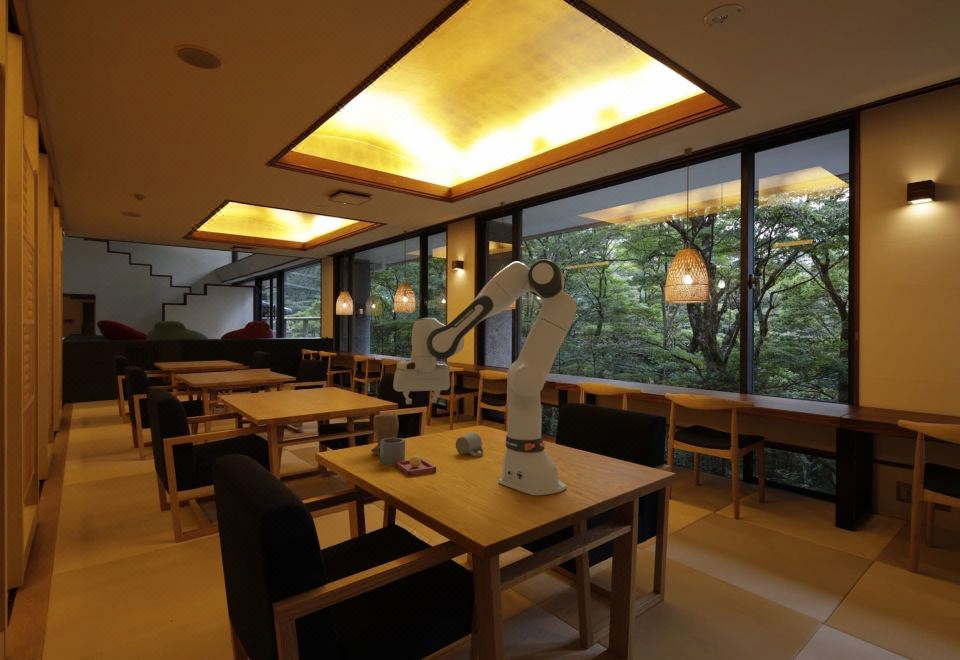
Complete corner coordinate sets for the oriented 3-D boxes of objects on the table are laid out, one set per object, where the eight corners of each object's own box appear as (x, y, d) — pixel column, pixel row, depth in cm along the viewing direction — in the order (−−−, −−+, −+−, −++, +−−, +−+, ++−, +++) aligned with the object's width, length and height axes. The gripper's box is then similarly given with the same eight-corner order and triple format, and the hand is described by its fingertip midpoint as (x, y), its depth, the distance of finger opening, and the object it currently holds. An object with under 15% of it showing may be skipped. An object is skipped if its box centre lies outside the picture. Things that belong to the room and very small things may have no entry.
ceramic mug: (453, 453, 188) (454, 434, 188) (467, 449, 195) (467, 430, 195) (474, 459, 182) (475, 439, 182) (488, 455, 188) (488, 435, 188)
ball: (423, 468, 167) (423, 456, 167) (412, 469, 165) (412, 457, 165) (418, 464, 170) (418, 453, 170) (407, 466, 168) (407, 455, 168)
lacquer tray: (436, 472, 165) (436, 467, 165) (408, 476, 160) (408, 471, 160) (421, 463, 175) (421, 458, 175) (395, 467, 170) (395, 461, 170)
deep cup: (407, 463, 174) (407, 441, 174) (385, 467, 169) (385, 444, 169) (398, 458, 181) (399, 436, 181) (377, 461, 177) (377, 439, 176)
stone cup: (382, 446, 198) (382, 409, 198) (408, 448, 195) (409, 411, 194) (362, 455, 184) (362, 416, 183) (390, 458, 180) (391, 418, 180)
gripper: (446, 363, 177) (444, 400, 177) (392, 363, 166) (390, 403, 167) (453, 364, 171) (452, 403, 171) (399, 365, 161) (397, 406, 161)
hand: (421, 403), depth 169 cm, fingers open, 8 cm apart
